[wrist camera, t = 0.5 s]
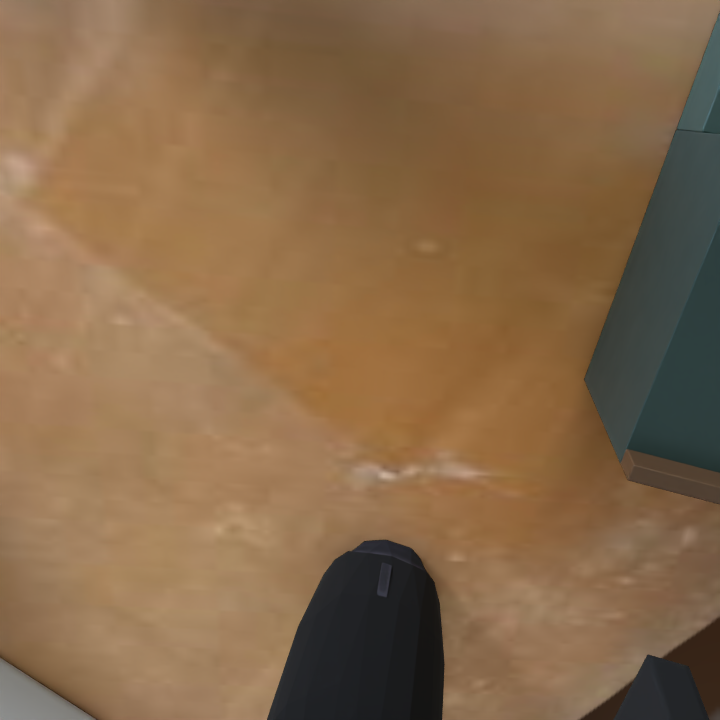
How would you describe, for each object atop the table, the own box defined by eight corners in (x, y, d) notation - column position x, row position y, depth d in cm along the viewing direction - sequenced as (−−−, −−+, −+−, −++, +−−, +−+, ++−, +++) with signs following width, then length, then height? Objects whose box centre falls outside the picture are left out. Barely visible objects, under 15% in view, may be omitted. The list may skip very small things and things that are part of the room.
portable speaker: (405, 658, 48) (365, 991, 30) (293, 590, 48) (184, 888, 29) (475, 580, 45) (478, 899, 27) (356, 506, 44) (277, 782, 26)
